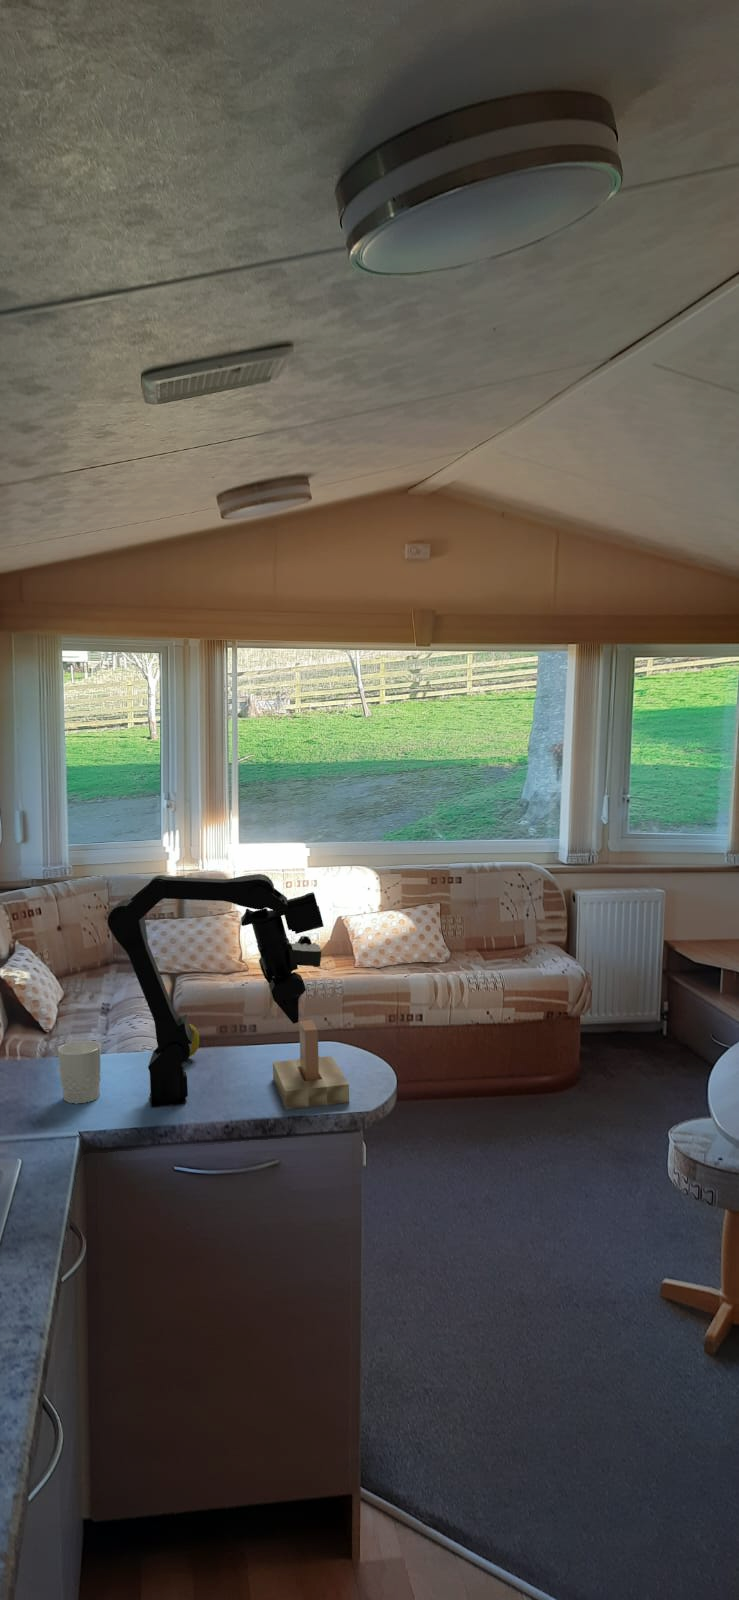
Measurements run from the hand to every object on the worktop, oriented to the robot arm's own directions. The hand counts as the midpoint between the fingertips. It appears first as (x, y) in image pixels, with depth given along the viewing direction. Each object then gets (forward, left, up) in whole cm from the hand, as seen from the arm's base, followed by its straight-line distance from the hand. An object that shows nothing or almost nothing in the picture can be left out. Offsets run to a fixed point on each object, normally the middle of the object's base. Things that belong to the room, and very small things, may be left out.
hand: (291, 1013), depth 200 cm
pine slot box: (+3, -2, -15) cm, 15 cm away
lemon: (-19, +23, -15) cm, 34 cm away
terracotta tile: (+3, -2, -15) cm, 15 cm away
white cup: (-40, +7, -15) cm, 44 cm away
